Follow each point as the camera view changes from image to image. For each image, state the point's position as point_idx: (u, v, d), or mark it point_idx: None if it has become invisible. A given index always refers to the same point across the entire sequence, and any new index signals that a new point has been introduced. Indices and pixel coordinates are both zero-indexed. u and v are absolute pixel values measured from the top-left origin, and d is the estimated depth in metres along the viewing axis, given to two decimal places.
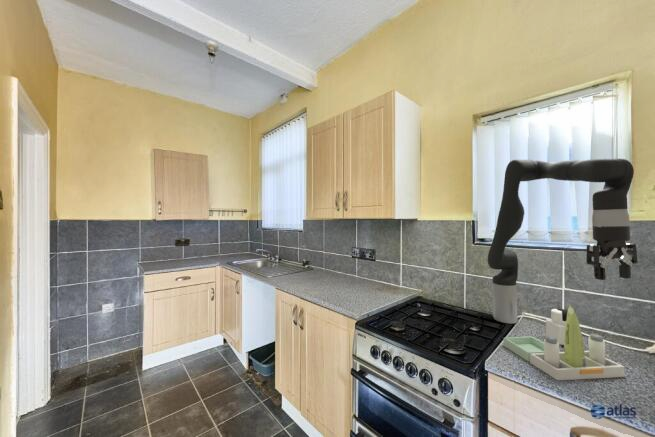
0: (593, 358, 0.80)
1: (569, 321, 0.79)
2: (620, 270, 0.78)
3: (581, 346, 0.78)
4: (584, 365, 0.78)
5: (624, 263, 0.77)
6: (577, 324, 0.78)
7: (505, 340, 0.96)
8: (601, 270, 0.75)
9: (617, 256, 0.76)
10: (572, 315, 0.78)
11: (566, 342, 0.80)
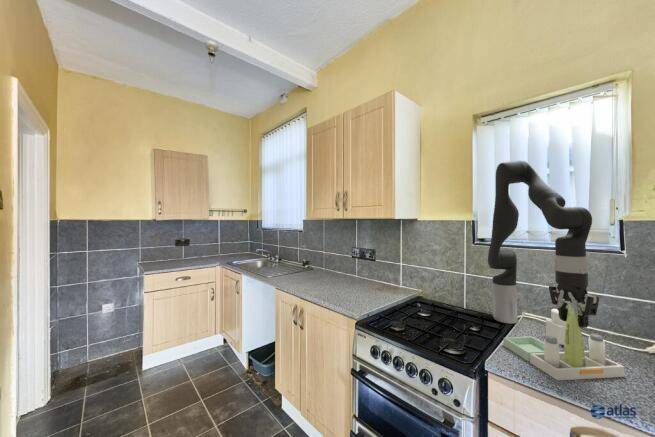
0: (593, 358, 0.80)
1: (569, 321, 0.79)
2: (562, 313, 0.83)
3: (581, 346, 0.78)
4: (584, 365, 0.78)
5: (563, 306, 0.84)
6: (577, 324, 0.78)
7: (505, 340, 0.96)
8: None
9: None
10: (572, 315, 0.78)
11: (566, 342, 0.80)
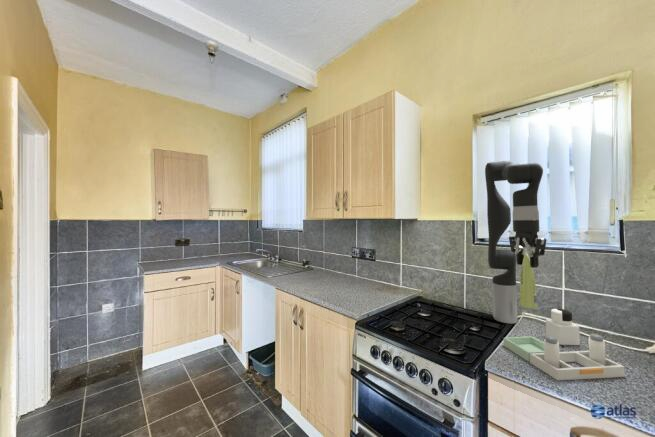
0: (593, 358, 0.80)
1: (523, 263, 0.90)
2: (519, 259, 0.94)
3: (532, 284, 0.89)
4: (535, 301, 0.89)
5: (520, 252, 0.95)
6: (529, 265, 0.89)
7: (505, 340, 0.96)
8: None
9: None
10: (525, 257, 0.89)
11: (521, 282, 0.91)
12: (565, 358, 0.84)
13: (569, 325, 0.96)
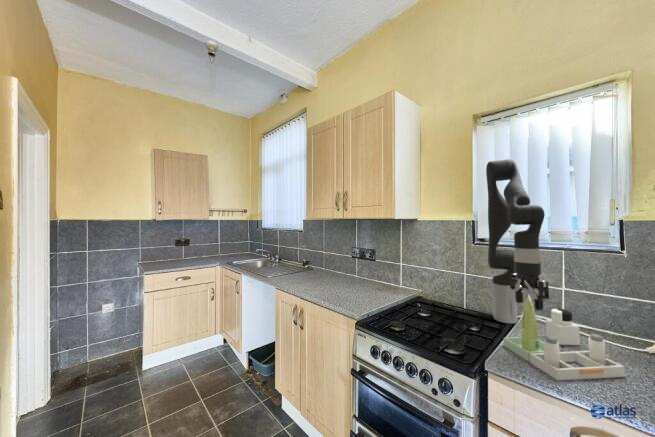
0: (593, 358, 0.80)
1: (524, 307, 0.90)
2: (518, 297, 0.95)
3: (534, 329, 0.89)
4: (537, 346, 0.89)
5: (519, 290, 0.95)
6: (531, 310, 0.89)
7: (505, 340, 0.96)
8: None
9: None
10: (526, 302, 0.89)
11: (522, 326, 0.91)
12: (565, 358, 0.84)
13: (569, 325, 0.96)
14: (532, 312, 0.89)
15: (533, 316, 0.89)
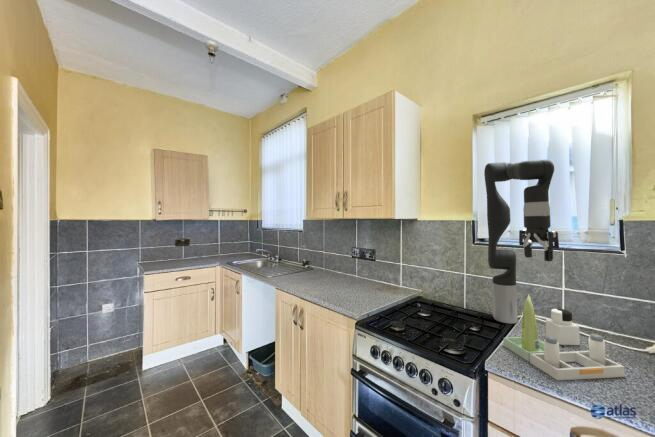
0: (593, 358, 0.80)
1: (524, 308, 0.90)
2: (527, 251, 0.97)
3: (534, 330, 0.89)
4: (537, 346, 0.89)
5: (528, 245, 0.97)
6: (530, 310, 0.89)
7: (505, 340, 0.96)
8: None
9: None
10: (526, 302, 0.89)
11: (522, 326, 0.91)
12: (565, 358, 0.84)
13: (569, 325, 0.96)
14: (532, 312, 0.89)
15: (533, 316, 0.89)
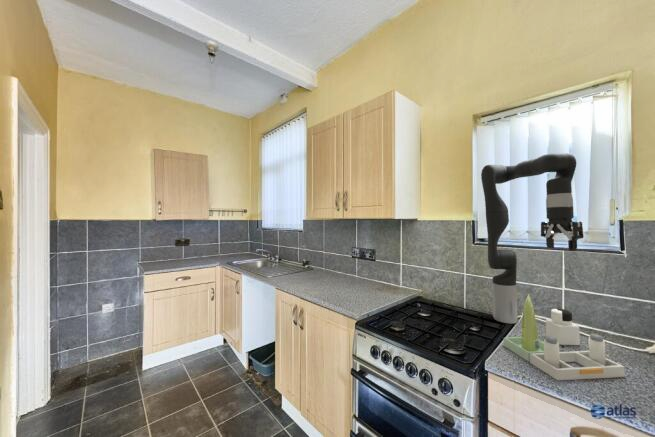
0: (593, 358, 0.80)
1: (524, 308, 0.90)
2: (549, 242, 0.99)
3: (534, 330, 0.89)
4: (537, 346, 0.89)
5: (550, 236, 1.00)
6: (530, 310, 0.89)
7: (505, 340, 0.96)
8: None
9: None
10: (526, 302, 0.89)
11: (522, 326, 0.91)
12: (565, 358, 0.84)
13: (569, 325, 0.96)
14: (532, 312, 0.89)
15: (533, 316, 0.89)
